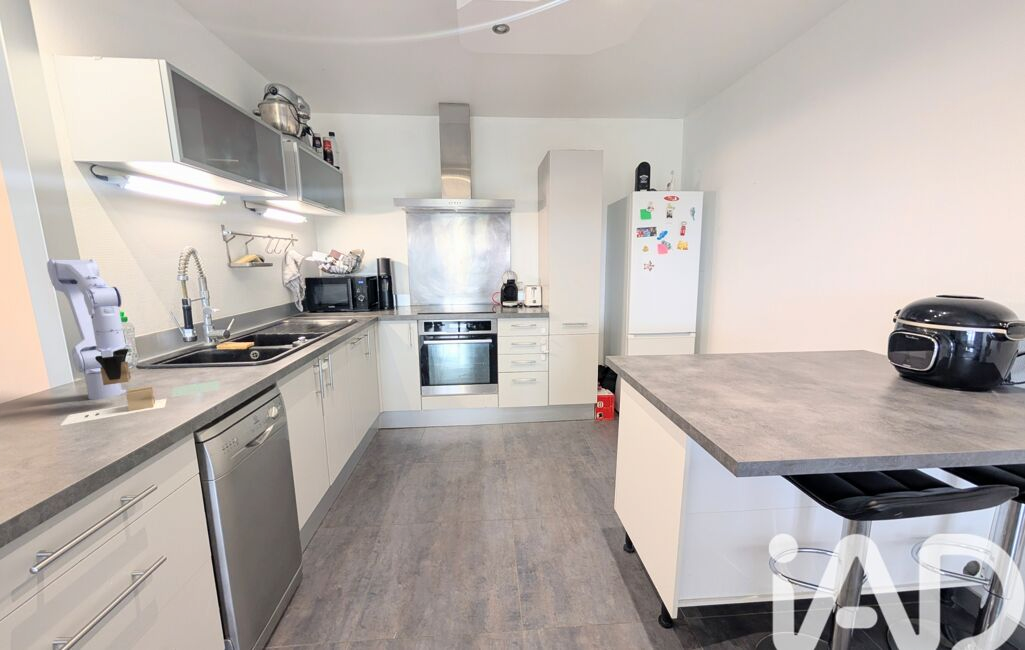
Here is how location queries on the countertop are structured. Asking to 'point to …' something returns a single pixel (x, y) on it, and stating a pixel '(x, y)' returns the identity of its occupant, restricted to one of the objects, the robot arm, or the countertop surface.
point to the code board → (107, 413)
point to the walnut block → (124, 377)
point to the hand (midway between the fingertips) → (116, 376)
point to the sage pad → (195, 388)
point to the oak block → (140, 398)
